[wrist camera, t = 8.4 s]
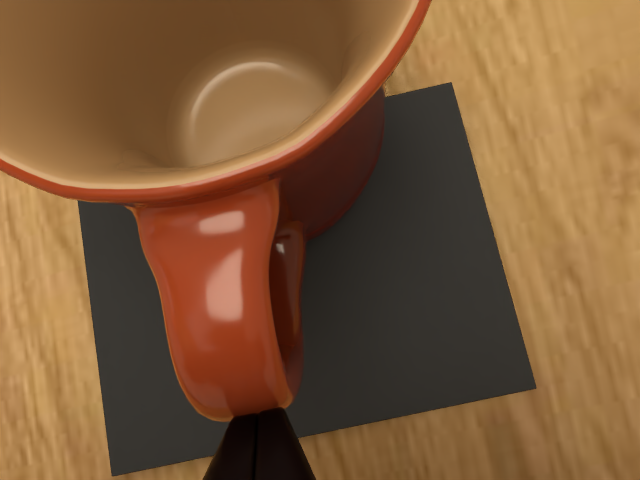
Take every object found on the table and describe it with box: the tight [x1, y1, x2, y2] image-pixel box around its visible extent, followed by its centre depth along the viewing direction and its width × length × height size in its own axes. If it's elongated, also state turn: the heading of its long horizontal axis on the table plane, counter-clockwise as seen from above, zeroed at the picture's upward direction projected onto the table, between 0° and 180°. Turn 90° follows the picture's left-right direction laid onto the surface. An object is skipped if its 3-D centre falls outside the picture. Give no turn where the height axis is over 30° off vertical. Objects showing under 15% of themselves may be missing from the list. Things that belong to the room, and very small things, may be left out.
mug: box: [0, 0, 432, 422], centre depth 13 cm, size 12×9×10 cm
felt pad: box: [78, 82, 536, 476], centre depth 18 cm, size 10×13×1 cm
